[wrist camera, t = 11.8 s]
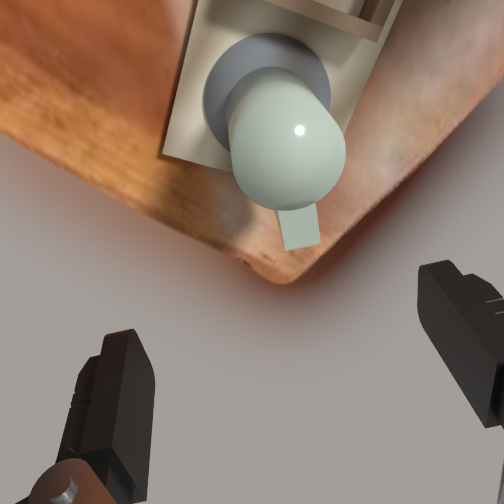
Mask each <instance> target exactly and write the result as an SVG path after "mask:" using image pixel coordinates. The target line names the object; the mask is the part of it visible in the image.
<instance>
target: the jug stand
mask: <svg viewBox="0 0 504 504" xmlns="http://www.w3.org/2000/svg"><path fill="white" fill-rule="evenodd" d="M402 2H403V0H198V4H197V8H196V12H195V17H194V21H193V25H192V29H191V34H190V38H189V42H188V46H187V50H186V55H185V59H184V63H183V67H182V72H181V76H180V80H179V84H178V89H177V93H176V97H175V101H174V106H173V110H172V114H171V118H170V123H169V127H168V131H167V135H166V140H165V144H164V148H163V152H162V154H165V155H168V156H172V157H176V158H179V159H183V160H187V161H190V162H194V163H198V164H201V165H205V166H209V167H212V168H216V169H219V170H223V171H227V172H230V173H233V167H232V159H231V151H230V144H229V136H228V128H227V120H226V106H227V101H228V98H229V95H230V93H231V91H232V89H233V88H234V86H235V85H236V83H237V82H238V81H239V80H240V79H241V78H242V77H244V76H245V75H246V74H248V73H249V72H251V71H253V70H256V69H259V68H262V67H271V66H274V67H281V68H285V69H287V70H290V71H292V72H293V73H295V74H296V75H298V76H299V77H300V78H301V79H302V80H303V81H304V82H305V84H306V85H307V86H308V87H309V89H310V90H311V91H312V92H313V94H314V95H315V96H316V97H317V99H318V100H319V101H320V103H321V104H322V105H323V106H324V108H325V109H326V110H327V111H328V113H329V114H330V115H331V116H332V118H333V119H334V120H335V121H336V123H337V124H338V126H339V128H340V130H341V132H342V134H343V135H344V133H345V131H346V128H347V126H348V124H349V122H350V119H351V117H352V115H353V113H354V110H355V108H356V106H357V104H358V101H359V99H360V97H361V95H362V92H363V90H364V88H365V86H366V83H367V81H368V79H369V77H370V74H371V72H372V70H373V68H374V65H375V63H376V61H377V58H378V56H379V54H380V52H381V49H382V47H383V45H384V43H385V40H386V38H387V36H388V34H389V31H390V29H391V27H392V25H393V22H394V20H395V18H396V16H397V13H398V11H399V9H400V7H401V4H402Z"/></svg>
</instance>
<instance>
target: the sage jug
mask: <svg viewBox="0 0 504 504" xmlns="http://www.w3.org/2000/svg"><path fill="white" fill-rule="evenodd" d="M226 120H227V128H228V136H229V144H230V151H231V159H232V167H233V173H234V176H235V179H236V181H237V183H238V185H239V187H240V188H241V190H242V191H243V192H244V193H245V195H246V196H247V197H248V198H250V199H251V200H252V201H254V202H255V203H257V204H258V205H260V206H263V207H265V208H268V209H272V210H274V211H275V215H276V219H277V222H278V226H279V230H280V233H281V237H282V241H283V244H284V248H285V251H287V250H292V249H297V248H302V247H306V246H311V245H316V244H321V241H320V233H319V226H318V218H317V210H316V203H315V202H317V201H319V200H320V199H321V198H323V197H324V196H325V195H326V194H327V193H328V192H329V191H330V190H331V189H332V188H333V187H334V185H335V184H336V183H337V181H338V179H339V177H340V176H341V173H342V170H343V167H344V164H345V157H346V147H345V140H344V137H343V134H342V132H341V130H340V128H339V126H338V124H337V123H336V121H335V120H334V119H333V118H332V116H331V115H330V114H329V113H328V111H327V110H326V109H325V108H324V106H323V105H322V104H321V103H320V101H319V100H318V99H317V97H316V96H315V95H314V94H313V92H312V91H311V90H310V89H309V87H308V86H307V85H306V84H305V82H304V81H303V80H302V79H301V78H300V77H299V76H298V75H296V74H295V73H293V72H292V71H290V70H287V69H285V68H281V67H274V66H271V67H262V68H259V69H256V70H253V71H251V72H249V73H248V74H246V75H245V76H244V77H242V78H241V79H240V80H239V81H238V82H237V83H236V85H235V86H234V88H233V89H232V91H231V93H230V95H229V98H228V101H227V106H226Z"/></svg>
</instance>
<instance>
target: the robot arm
mask: <svg viewBox="0 0 504 504" xmlns="http://www.w3.org/2000/svg"><path fill="white" fill-rule="evenodd" d="M417 309H418V315H419V319H420V322H421V324H422V326H423V328H424V330H425V332H426V333H427V335H428V337H429V338H430V340H431V342H432V343H433V345H434V346H435V348H436V349H437V351H438V353H439V354H440V356H441V357H442V359H443V361H444V363H445V364H446V366H447V367H448V369H449V371H450V372H451V374H452V375H453V377H454V379H455V380H456V382H457V384H458V385H459V387H460V388H461V390H462V392H463V393H464V395H465V396H466V398H467V400H468V401H469V403H470V404H471V406H472V408H473V409H474V411H475V413H476V414H477V416H478V417H479V419H480V421H481V422H482V424H483V426H484V427H485V428H489V427H494V426H499V425H501V426H502V427H503V429H504V299H503V297H502V296H501V294H499V292H498V291H497V290H496V289H495V288H494V287H493V286H492V284H490V283H489V282H487V281H485V280H483V279H481V278H480V277H478V276H476V275H474V274H468V275H464V276H463V275H462V274H461V273H460V271H459V270H458V269H457V268H456V266H455V265H454V264H453V263H452V262H451V261H449V260H445V261H440V262H435V263H430V264H426V265H421V266H420V267H419V271H418V299H417ZM74 391H75V394H73V398H72V402H71V408H70V409H69V413H68V417H67V421H66V425H65V429H64V433H63V436H62V440H61V444H60V448H59V452H58V456H57V460H56V463H55V465H53V466H52V467H50V468H49V469H48V470H46V471H45V472H44V473H43V474H42V476H41V477H40V478H39V479H38V480H37V482H36V483H35V485H34V486H33V488H32V491H31V493H30V495H29V496H28V497H26V498H25V499H23V500H21V501H19V502H17V503H16V504H133V503H138V502H143V501H146V500H147V487H148V474H149V460H150V448H151V434H152V421H153V408H154V395H155V377H154V372H153V368H152V365H151V363H150V360H149V358H148V356H147V354H146V352H145V350H144V348H143V345H142V343H141V341H140V339H139V337H138V335H137V333H136V331H135V330H134V329H129V330H124V331H120V332H115V333H111V334H107V335H106V336H105V337H104V340H103V345H102V349H101V354H100V355H98V356H94V357H90V358H89V359H88V361H87V362H86V364H85V365H84V367H83V368H82V370H81V371H80V373H79V375H78V378H77V383H76V386H75V390H74ZM497 504H504V462H503V467H502V473H501V480H500V486H499V493H498V499H497Z"/></svg>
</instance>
